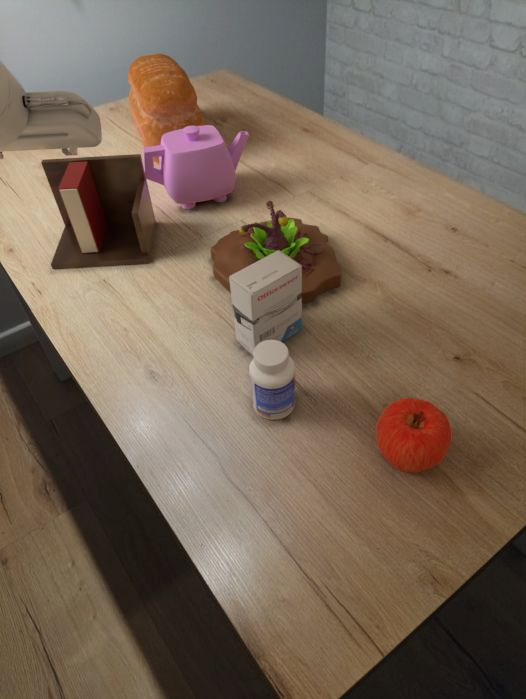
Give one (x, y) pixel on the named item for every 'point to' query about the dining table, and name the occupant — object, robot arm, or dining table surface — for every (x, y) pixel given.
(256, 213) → the dining table surface
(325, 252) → the plant
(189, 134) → the teapot
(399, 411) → the apple
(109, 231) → the book stand
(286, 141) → the dining table surface
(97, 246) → the book
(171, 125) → the bread
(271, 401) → the pill bottle
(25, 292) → the dining table surface
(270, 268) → the ink box
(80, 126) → the robot arm
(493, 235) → the dining table surface
